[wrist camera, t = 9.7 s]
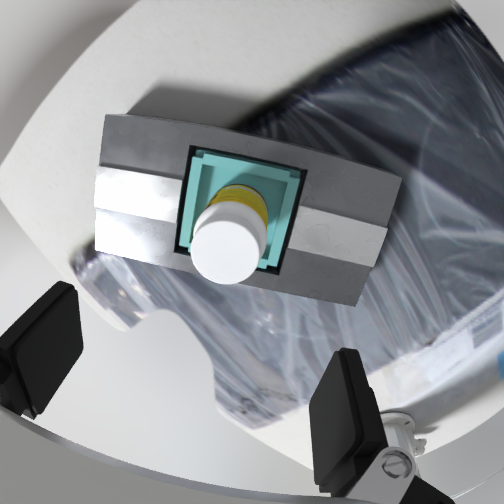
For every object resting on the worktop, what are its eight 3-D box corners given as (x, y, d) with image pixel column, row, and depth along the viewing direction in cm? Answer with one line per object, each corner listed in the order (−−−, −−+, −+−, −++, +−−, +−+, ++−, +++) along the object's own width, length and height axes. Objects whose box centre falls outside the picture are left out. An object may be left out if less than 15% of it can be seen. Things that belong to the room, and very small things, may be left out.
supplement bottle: (214, 176, 25) (189, 205, 17) (273, 188, 25) (275, 221, 17) (205, 233, 27) (180, 282, 19) (261, 244, 27) (258, 297, 19)
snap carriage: (298, 167, 26) (301, 174, 23) (275, 255, 29) (275, 271, 26) (201, 147, 26) (193, 150, 23) (186, 236, 29) (177, 250, 26)
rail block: (385, 169, 26) (404, 178, 22) (346, 284, 31) (356, 309, 27) (125, 113, 25) (103, 114, 21) (113, 234, 30) (93, 251, 26)
